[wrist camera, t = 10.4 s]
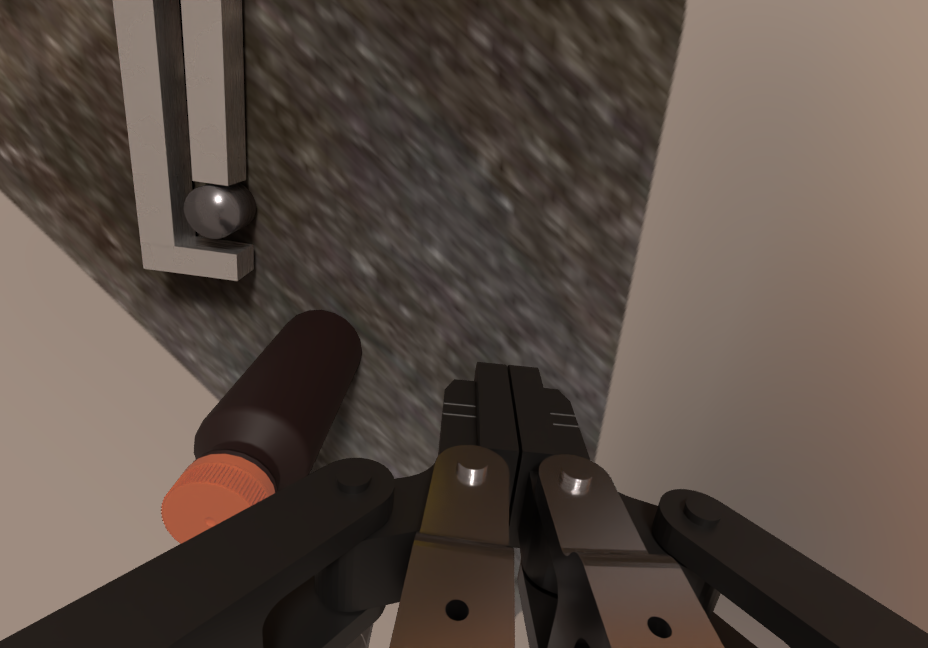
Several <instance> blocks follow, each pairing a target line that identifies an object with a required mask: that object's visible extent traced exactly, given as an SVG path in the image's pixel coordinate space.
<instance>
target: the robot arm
mask: <svg viewBox="0 0 928 648" xmlns="http://www.w3.org/2000/svg"><path fill="white" fill-rule="evenodd" d="M574 415H575V414H574V411H573V408H572V405H571V402H570V401H569V400H568V399H567V398H566V397H565V396H564V395H563V394H562V393H561V392H560V391H559V390H558V389H548V388H543V384H542V380H541V376H540V373H539V369H538V368H534V367H524V366H514V365H508V367H507V365H503V364H493V363H483V362H477V365H476V371H475V379H474V381H466V380H455V379H454V380H453V381H452V383H451V384H450V385H449V386H448V387H447V388H446V389H445V394H444V403H443V413H442V422H441V432H440V441H439V452H438V457H437V459H436V461H435V463H434V465H433V466H432V467H430V468H429V469H428V470H426V471H424V472H422V473H420V474H417V475H414V476H410V477H404V478H397V479H394V477H393V475H392V473H391V472H390V471H389V469H388V468H386V467H385V466H384V465H382V464H380V463H379V462H376V461H373V460H370V459H364V458H347V459H342V460H338V461H335V462H333V463H330V464H328V465H326V466H325V467H323V468H321V469H319V470H317V471H315V472H313V473H312V474H310V475H308V476H306V477H304V478H302V479H300V480H299V481H297V482H295V483H293V484H291V485H289V486H287V487H286V488H284V489H282V490H280V491H278V492H276V493H274V494H273V495H271V496H269V497H267V498H265V499H263V500H261V501H260V502H258V503H256V504H254V505H252V506H250V507H248V508H247V509H245V510H243V511H241V512H239V513H237V514H235V515H234V516H232V517H230V518H228V519H226V520H224V521H222V522H221V523H219V524H217V525H215V526H213V527H211V528H209V529H208V530H206V531H204V532H202V533H200V534H198V535H196V536H195V537H193V538H191V539H189V540H187V541H185V542H183V543H182V544H180V545H178V546H176V547H174V548H172V549H170V550H169V551H167V552H165V553H163V554H161V555H159V556H157V557H156V558H154V559H152V560H150V561H148V562H146V563H145V564H143V565H141V566H139V567H137V568H135V569H133V570H132V571H130V572H128V573H126V574H124V575H122V576H121V577H118V578H117V579H115V580H113V581H111V582H109V583H107V584H106V585H104V586H102V587H100V588H98V589H96V590H94V591H92V592H91V593H89V594H87V595H85V596H83V597H81V598H80V599H78V600H76V601H74V602H72V603H70V604H68V605H67V606H65V607H63V608H61V609H59V610H57V611H55V612H53V613H52V614H50V615H48V616H46V617H44V618H42V619H40V620H39V621H37V622H35V623H33V624H31V625H29V626H28V627H26V628H24V629H22V630H20V631H18V632H16V633H15V634H13V635H11V636H9V637H7V638H5V639H3V640H2V641H0V648H368V647H369V642H370V637H371V632H372V627H373V623H374V622H375V621H376V620H377V619H378V618H379V617H380V616H381V614H382V613H383V610H384V608H385V606H386V605H388V604H392V603H397V602H400V603H399V608H398V612H397V617H396V621H395V625H394V630H393V634H392V638H391V643H390V647H389V648H515V579H514V548H513V547H515V548H520V553H521V561H520V567H519V572H518V578H517V582H518V589H519V594H520V599H521V605H522V610H523V615H524V621H525V626H526V631H527V636H528V642H529V647H530V648H757V647H756V646H755V645H754V644H753V643H751V642H750V641H749V640H747V639H746V638H745V637H744V636H743V635H741V634H740V633H739V632H738V631H736V630H735V629H734V628H733V627H731V626H730V625H729V624H728V623H726V622H725V621H724V620H723V619H721V618H720V617H719V616H718V615H716V614H715V613H714V612H713V611H714V608H715V606H716V603H717V601H718V599H719V596H720V594H723V595H724V596H725V597H727V598H728V599H729V600H731V601H732V602H733V603H735V604H736V605H737V606H738V607H740V608H741V609H742V610H744V611H745V612H746V613H747V614H749V615H750V616H752V617H753V618H754V619H755V620H757V621H758V622H759V623H761V624H762V625H763V626H764V627H766V628H767V629H768V630H770V631H771V632H772V633H774V634H775V635H776V636H778V637H779V638H780V639H782V640H783V641H784V642H785V643H786V644H787V645H789V647H790V648H928V633H926V632H924V631H923V630H921V629H920V628H918V627H917V626H915V625H913V624H912V623H910V622H909V621H907V620H906V619H904V618H903V617H901V616H899V615H898V614H896V613H895V612H893V611H892V610H890V609H888V608H887V607H885V606H884V605H882V604H881V603H879V602H877V601H876V600H874V599H873V598H871V597H869V596H868V595H866V594H865V593H863V592H862V591H860V590H858V589H857V588H855V587H854V586H852V585H851V584H849V583H847V582H846V581H844V580H843V579H841V578H839V577H838V576H836V575H835V574H833V573H832V572H830V571H828V570H827V569H825V568H824V567H822V566H821V565H819V564H817V563H816V562H814V561H813V560H811V559H809V558H808V557H806V556H805V555H803V554H802V553H800V552H799V551H797V550H795V549H794V548H792V547H791V546H789V545H787V544H786V543H784V542H783V541H781V540H780V539H778V538H776V537H775V536H773V535H771V534H770V533H769V532H767V531H765V530H764V529H762V528H761V527H759V526H758V525H756V524H754V523H753V522H751V521H750V520H748V519H746V518H745V517H743V516H742V515H740V514H739V513H737V512H735V511H734V510H732V509H731V508H729V507H728V506H726V505H724V504H723V503H721V502H719V501H718V500H716V499H714V498H712V497H710V496H708V495H706V494H703V493H700V492H696V491H692V490H686V489H677V490H671V491H668V492H666V493H665V494H664V495H663V496H662V497H661V499H660V502H659V505H658V506H656V505H653V504H650V503H647V502H644V501H640V500H637V499H634V498H631V497H628V496H625V495H623V494H621V493H619V492H618V491H617V489H616V487H615V485H614V483H613V481H612V479H611V477H610V476H609V474H608V473H607V472H606V471H605V470H604V469H603V468H602V467H600V466H599V465H598V464H596V463H595V462H593V461H591V460H590V458H589V455H588V452H587V449H586V446H585V443H584V440H583V437H582V434H581V432H580V429H579V428H578V423H577V420H576V417H574Z"/></svg>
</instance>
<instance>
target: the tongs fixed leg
mask: <svg viewBox="0 0 928 648" xmlns="http://www.w3.org/2000/svg"><path fill="white" fill-rule="evenodd" d="M113 7H114V15H115V24H116V33H117V41H118V50H119V59H120V67H121V76H122V85H123V93H124V102H125V111H126V119H127V128H128V137H129V146H130V154H131V163H132V172H133V180H134V189H135V198H136V206H137V215H138V224H139V232H140V241H141V250H142V258H143V267H144V269H151V270H159V271H166V272H174V273H181V274H189V275H196V276H204V277H211V278H218V279H226V280H233V281H238V280H240V279H241V278H242V277H244V276H245V275H247V274H248V273H249V272H251V271H252V270H253V269H254V251H253V244H249V243H241V242H234V241H227V240H219V239H211V238H205V237H197V236H196V233H195V230H194V229H193V228H192V227H191V226H190V224H189V223H188V221H187V219H186V216H185V212H184V203H185V199H186V197H187V196H188V194H189V193H190V192H191V191H192V178H191V164H190V150H189V136H188V122H187V108H186V94H185V81H184V67H183V53H182V39H181V25H180V11H179V0H113Z"/></svg>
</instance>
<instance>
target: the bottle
mask: <svg viewBox="0 0 928 648" xmlns="http://www.w3.org/2000/svg"><path fill="white" fill-rule="evenodd" d="M361 354H362V349H361V342H360V338H359V336H358V334H357V332H356V331H355V329H354V328H353V327H352V326H351V325H350V323H349V322H348V321H347V320H346V319H344V318H342V317H340V316H339V315H337V314H335V313H332V312H328V311H324V310H311V311H307V312H304V313H301V314H299V315H296V316H295V317H294V318H293V319H292V320H290V321H289V322H288V323H287V324H286V325H285V326H284V328H283V329H282V330H281V331H280V332H279V333H278V335H277V336H276V337H275V338H274V339H273V340H272V341H271V343H270V344H269V345H268V346H267V347H266V348H265V350H264V351H263V352H262V353H261V354H260V355H259V357H258V358H257V359H256V360H255V361H254V362H253V363H252V365H251V366H250V367H249V368H248V369H247V370H246V372H245V373H244V374H243V375H242V376H241V377H240V378H239V380H238V381H237V382H236V383H235V384H234V385H233V387H232V388H231V389H230V390H229V391H228V392H227V394H226V395H225V396H224V397H223V398H222V399H221V400H220V402H219V403H218V404H217V405H216V406H215V407H214V409H213V410H212V411H211V412H210V413H209V414H208V416H207V417H206V418H205V419H204V420H203V422H202V424H201V426H200V427H199V429H198V431H197V433H196V435H195V442H194V443H195V444H194V455H195V457H196V460H195V461H194V462H193V463H192V464H191V465H190V466H188V468H187V469H186V470H185V471H184V473H183V474H182V475H181V477H180V478H179V479H178V480H177V482H176V483H175V484H174V485H173V487H172V488H171V489H170V491H169V492H168V493H167V494H166V496H165V497H164V500H163V503H162V507H161V508H162V509H161V511H162V513H161V514H162V518H163V520H162V521H164V524H165V526H166V529H167V531H169V533H170V534H171V535H172V537H173V538H174V539H175V540H177V541H178V542H179V543H181V544H182V543H183V542H185V541H187V540H189V539H191V538H193V537H195V536H196V535H198V534H200V533H202V532H204V531H206V530H208V529H209V528H211V527H213V526H215V525H217V524H219V523H221V522H222V521H224V520H226V519H228V518H230V517H232V516H234V515H235V514H237V513H239V512H241V511H243V510H245V509H247V508H248V507H250V506H252V505H254V504H256V503H258V502H260V501H261V500H263V499H265V498H267V497H269V496H271V495H273V494H274V493H276V492H278V491H280V490H282V489H284V488H286V487H287V486H289V485H291V484H293V483H295V482H297V481H299V480H300V479H302V478H304V477H306V476H308V475H309V473H310V471H311V469H312V467H313V464H314V462H315V460H316V458H317V456H318V453H319V451H320V449H321V447H322V445H323V442H324V440H325V438H326V436H327V434H328V431H329V429H330V427H331V425H332V423H333V420H334V418H335V416H336V414H337V412H338V409H339V407H340V405H341V403H342V401H343V398H344V396H345V394H346V392H347V390H348V387H349V385H350V383H351V381H352V379H353V377H354V374H355V372H356V370H357V368H358V366H359V363H360V359H361Z"/></svg>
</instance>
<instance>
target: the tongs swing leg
mask: <svg viewBox="0 0 928 648" xmlns="http://www.w3.org/2000/svg"><path fill="white" fill-rule="evenodd" d="M181 11H182V27H183V42H184V58H185V73H186V89H187V104H188V120H189V135H190V151H191V166H192V181H198V182H205V183H211V184H208V185H205V186H201V187H198V188H196V189H194V190H192V191H191V192H190V193H189V194H188V196H187V197H186V199H185V203H184V212H185V216H186V219H187V221H188V223H189V224H190V226H191V227H192V228H193V229H194V230H195V231H196V232H197V233H199V234H200V235H202V236H204V237H207V238H211V239H220V238H223V237H226V236H228V235H229V234H231V233H233V232H235V231H237V230H239V229H241V228H243V227H245V226H246V225H248V224H249V223H250V222H251V221H252V220H253V218H254V216H255V213H256V203H255V200H254V197H253V195H252V193H251V192H250V191H249V189H248V188H247V187H245V186H244V185H243V184H241V183H239V182H241V181H244V180H246V148H245V107H244V66H243V25H242V0H181Z"/></svg>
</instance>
